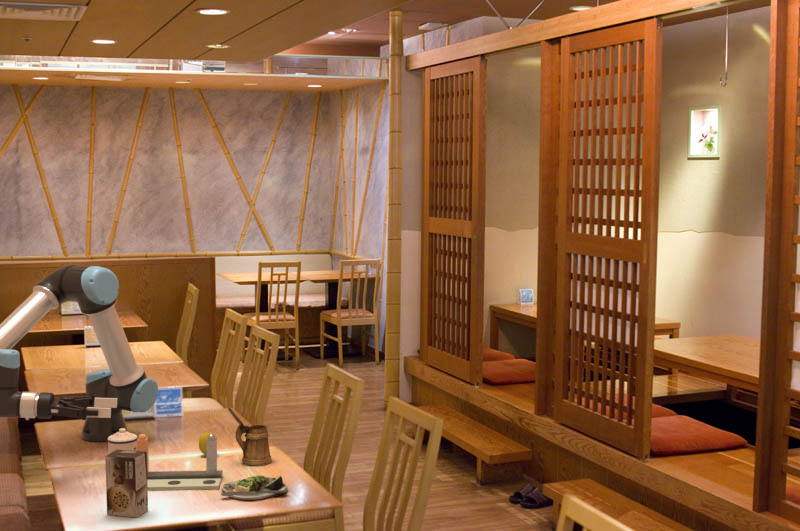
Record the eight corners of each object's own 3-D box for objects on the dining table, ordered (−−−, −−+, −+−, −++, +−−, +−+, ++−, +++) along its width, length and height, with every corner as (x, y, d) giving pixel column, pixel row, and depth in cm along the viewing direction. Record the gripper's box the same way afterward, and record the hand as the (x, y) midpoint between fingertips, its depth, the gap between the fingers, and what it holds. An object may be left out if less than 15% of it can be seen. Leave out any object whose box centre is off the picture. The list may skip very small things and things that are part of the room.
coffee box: (149, 510, 256) (148, 451, 255) (136, 518, 250) (135, 457, 248) (118, 507, 258) (117, 448, 257) (105, 515, 252) (104, 455, 251)
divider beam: (130, 478, 283) (129, 433, 282) (222, 476, 285) (222, 432, 284) (128, 481, 280) (127, 436, 279) (221, 480, 282) (221, 435, 281)
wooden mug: (226, 460, 303) (226, 404, 301) (269, 457, 306) (269, 401, 305) (229, 468, 294) (229, 410, 292) (273, 464, 298) (273, 408, 296)
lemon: (195, 457, 305) (195, 432, 304) (204, 452, 310) (204, 428, 310) (211, 459, 303) (211, 434, 303) (219, 454, 309) (219, 430, 308)
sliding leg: (139, 470, 283) (138, 432, 282) (148, 470, 283) (148, 432, 282) (137, 473, 280) (136, 435, 279) (147, 473, 280) (146, 435, 279)
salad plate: (233, 508, 259) (233, 492, 258) (206, 491, 273) (206, 475, 273) (296, 495, 270) (296, 479, 269) (267, 479, 284) (267, 464, 284)
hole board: (134, 483, 279) (134, 479, 278) (221, 481, 281) (221, 478, 281) (129, 490, 272) (129, 487, 272) (218, 489, 274) (218, 485, 274)
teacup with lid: (138, 469, 292) (137, 431, 291) (107, 471, 290) (106, 433, 289) (138, 458, 304) (137, 422, 303) (108, 460, 301) (107, 423, 300)
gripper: (46, 408, 290) (118, 411, 293) (28, 428, 265) (107, 430, 269) (47, 384, 290) (120, 387, 293) (29, 401, 265) (108, 404, 268)
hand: (114, 407), depth 281 cm, fingers open, 13 cm apart
